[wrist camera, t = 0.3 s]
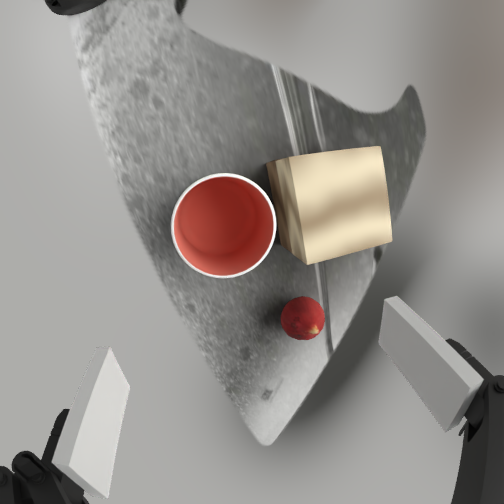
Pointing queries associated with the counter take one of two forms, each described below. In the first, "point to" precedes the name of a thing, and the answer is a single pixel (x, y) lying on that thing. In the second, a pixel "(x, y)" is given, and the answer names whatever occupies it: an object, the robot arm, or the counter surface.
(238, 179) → the cup
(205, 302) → the counter surface
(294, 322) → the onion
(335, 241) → the block top
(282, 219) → the block bottom
